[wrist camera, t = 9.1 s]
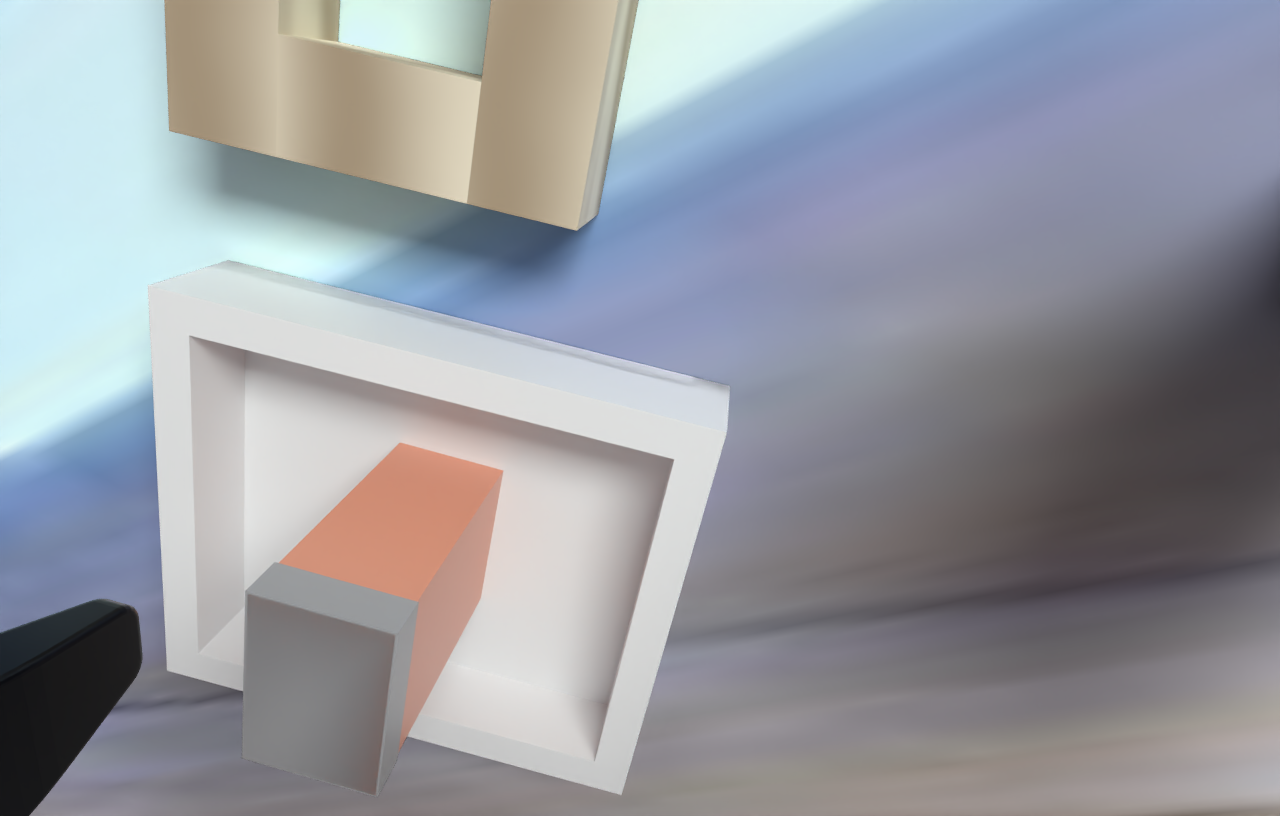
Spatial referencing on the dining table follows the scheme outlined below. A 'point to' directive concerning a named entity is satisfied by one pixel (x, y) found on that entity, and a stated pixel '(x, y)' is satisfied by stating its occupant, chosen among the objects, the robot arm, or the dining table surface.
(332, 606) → the block
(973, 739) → the dining table surface
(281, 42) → the socket
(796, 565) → the dining table surface
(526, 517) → the parts tray
